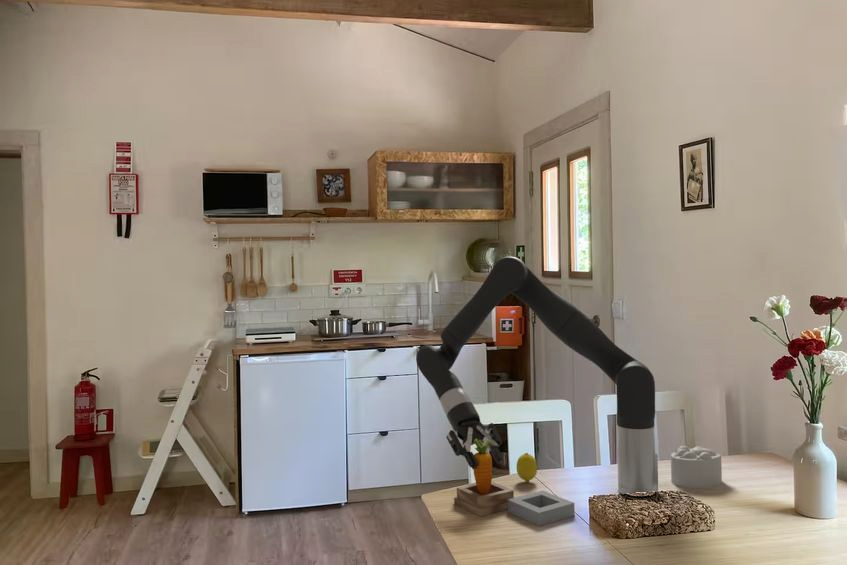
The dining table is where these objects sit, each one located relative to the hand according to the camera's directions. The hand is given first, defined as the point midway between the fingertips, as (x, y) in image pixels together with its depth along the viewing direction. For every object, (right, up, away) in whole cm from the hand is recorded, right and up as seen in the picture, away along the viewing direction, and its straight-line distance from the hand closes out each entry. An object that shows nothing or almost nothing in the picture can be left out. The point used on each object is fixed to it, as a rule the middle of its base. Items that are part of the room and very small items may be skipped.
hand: (488, 464), depth 164 cm
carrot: (-1, -9, +2) cm, 9 cm away
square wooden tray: (-1, -10, +1) cm, 11 cm away
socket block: (+12, -10, -5) cm, 17 cm away
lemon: (+12, -10, +18) cm, 24 cm away
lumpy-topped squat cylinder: (+57, -9, +15) cm, 59 cm away
